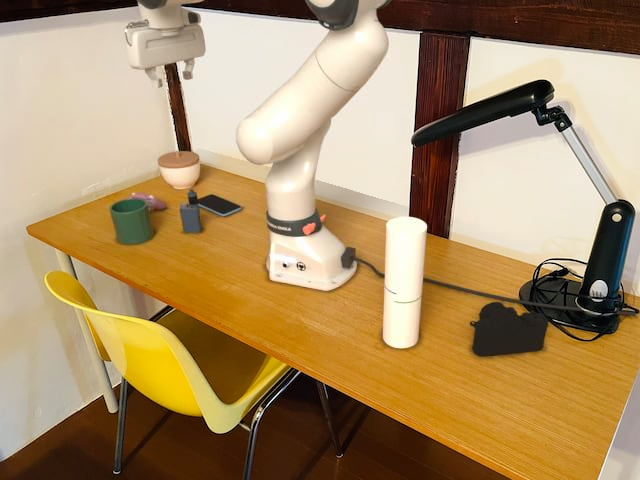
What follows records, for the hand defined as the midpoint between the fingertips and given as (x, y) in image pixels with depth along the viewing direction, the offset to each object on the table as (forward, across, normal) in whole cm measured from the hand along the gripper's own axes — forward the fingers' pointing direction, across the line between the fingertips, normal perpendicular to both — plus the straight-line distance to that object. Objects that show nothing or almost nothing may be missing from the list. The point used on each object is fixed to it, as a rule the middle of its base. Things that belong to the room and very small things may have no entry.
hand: (173, 83), depth 124 cm
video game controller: (+40, +3, +23) cm, 46 cm away
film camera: (+39, -4, -85) cm, 94 cm away
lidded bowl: (+40, +22, +28) cm, 53 cm away
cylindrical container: (+39, -13, -67) cm, 79 cm away
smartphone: (+39, +15, +7) cm, 43 cm away
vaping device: (+39, 0, +2) cm, 39 cm away
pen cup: (+39, -10, +13) cm, 43 cm away
